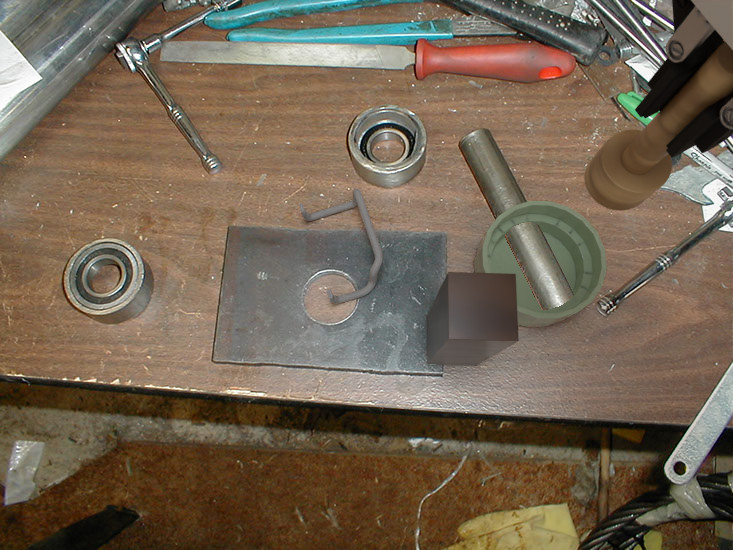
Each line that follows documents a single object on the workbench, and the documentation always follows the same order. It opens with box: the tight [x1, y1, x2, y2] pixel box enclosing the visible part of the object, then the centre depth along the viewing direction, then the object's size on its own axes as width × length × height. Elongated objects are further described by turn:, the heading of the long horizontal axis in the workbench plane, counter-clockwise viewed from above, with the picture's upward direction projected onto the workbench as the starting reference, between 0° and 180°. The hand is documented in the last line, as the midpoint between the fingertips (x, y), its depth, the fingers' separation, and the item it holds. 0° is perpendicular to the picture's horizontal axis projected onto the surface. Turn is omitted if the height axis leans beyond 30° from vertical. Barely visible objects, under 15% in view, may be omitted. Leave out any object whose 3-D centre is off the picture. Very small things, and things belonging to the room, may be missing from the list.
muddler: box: [583, 42, 733, 212], centre depth 31 cm, size 4×4×13 cm
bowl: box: [473, 200, 608, 328], centre depth 67 cm, size 14×14×6 cm
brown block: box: [426, 271, 519, 367], centre depth 58 cm, size 6×6×20 cm
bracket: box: [299, 187, 384, 304], centre depth 68 cm, size 13×8×5 cm, turn 18°
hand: (675, 121), depth 30 cm, fingers closed on muddler, 2 cm apart
